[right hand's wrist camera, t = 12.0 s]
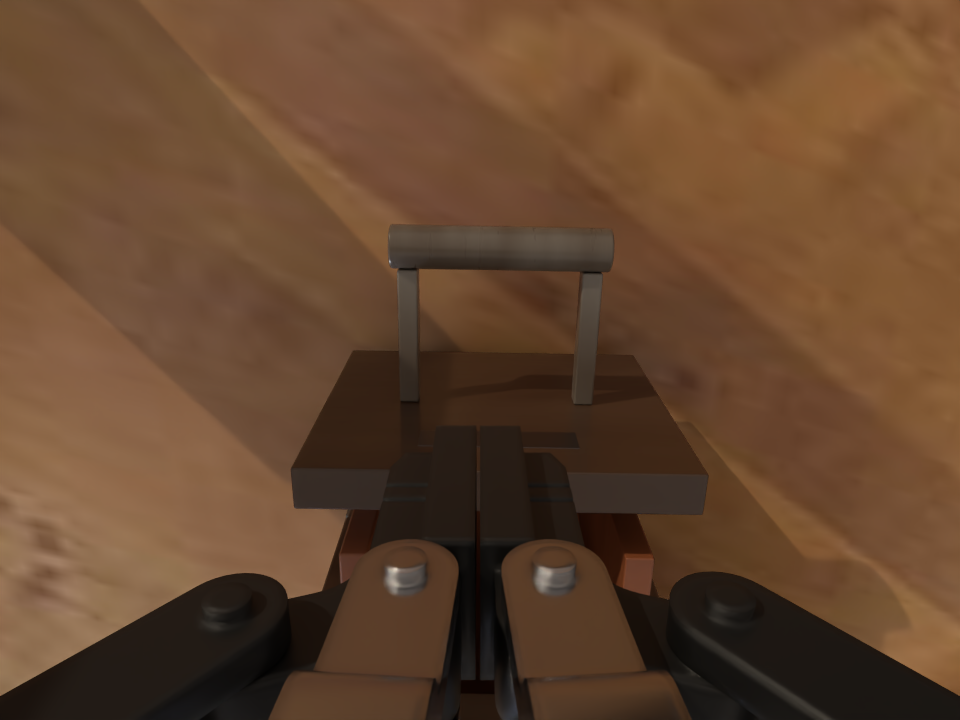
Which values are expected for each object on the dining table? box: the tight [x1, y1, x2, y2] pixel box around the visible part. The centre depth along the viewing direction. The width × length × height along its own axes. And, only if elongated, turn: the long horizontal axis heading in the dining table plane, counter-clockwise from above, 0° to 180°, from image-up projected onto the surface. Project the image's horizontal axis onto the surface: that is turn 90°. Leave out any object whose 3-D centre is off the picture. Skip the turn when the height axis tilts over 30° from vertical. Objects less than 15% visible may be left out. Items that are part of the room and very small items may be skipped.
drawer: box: [291, 224, 708, 694], centre depth 23 cm, size 22×11×9 cm, turn 179°
